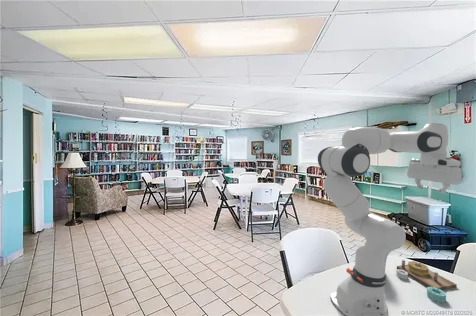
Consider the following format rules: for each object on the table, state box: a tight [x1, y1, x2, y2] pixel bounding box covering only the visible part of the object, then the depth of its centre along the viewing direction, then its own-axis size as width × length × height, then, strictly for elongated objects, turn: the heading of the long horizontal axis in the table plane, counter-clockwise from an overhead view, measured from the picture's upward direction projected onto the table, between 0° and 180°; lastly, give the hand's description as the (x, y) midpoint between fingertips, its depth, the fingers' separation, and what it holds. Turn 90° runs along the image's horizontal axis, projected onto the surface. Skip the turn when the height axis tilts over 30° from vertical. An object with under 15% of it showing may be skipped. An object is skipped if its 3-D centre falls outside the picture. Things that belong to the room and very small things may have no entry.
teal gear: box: [426, 287, 447, 304], centre depth 99 cm, size 6×6×3 cm
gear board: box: [396, 259, 458, 291], centre depth 114 cm, size 14×19×6 cm
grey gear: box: [395, 269, 409, 280], centre depth 114 cm, size 4×4×2 cm
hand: (430, 190), depth 99 cm, fingers open, 8 cm apart
